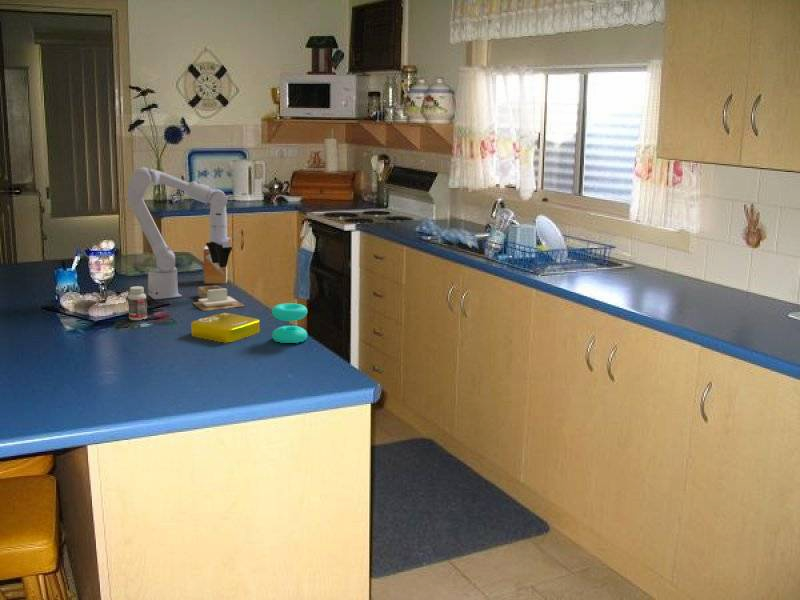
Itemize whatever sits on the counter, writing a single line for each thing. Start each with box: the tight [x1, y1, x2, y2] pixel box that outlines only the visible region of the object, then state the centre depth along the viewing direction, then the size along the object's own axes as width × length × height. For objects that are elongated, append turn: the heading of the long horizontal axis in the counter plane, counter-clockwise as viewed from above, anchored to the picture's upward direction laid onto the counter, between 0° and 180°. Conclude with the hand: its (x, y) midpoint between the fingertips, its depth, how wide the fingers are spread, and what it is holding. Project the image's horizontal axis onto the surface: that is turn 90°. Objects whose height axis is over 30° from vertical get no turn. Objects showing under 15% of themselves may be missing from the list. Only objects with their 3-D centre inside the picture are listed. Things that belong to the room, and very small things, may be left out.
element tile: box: [190, 311, 261, 344], centre depth 245 cm, size 15×15×5 cm
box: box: [197, 284, 229, 299], centre depth 287 cm, size 7×10×3 cm
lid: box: [197, 287, 238, 307], centre depth 277 cm, size 8×11×5 cm
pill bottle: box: [127, 285, 148, 321], centre depth 258 cm, size 5×5×10 cm
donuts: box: [271, 302, 308, 344], centre depth 240 cm, size 10×10×10 cm
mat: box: [192, 299, 246, 312], centre depth 277 cm, size 14×11×1 cm
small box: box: [203, 245, 228, 285], centre depth 309 cm, size 8×6×13 cm
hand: (219, 264), depth 290 cm, fingers open, 7 cm apart
